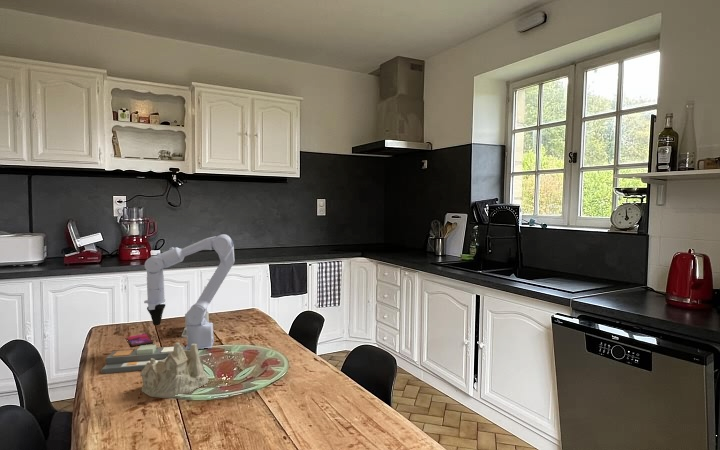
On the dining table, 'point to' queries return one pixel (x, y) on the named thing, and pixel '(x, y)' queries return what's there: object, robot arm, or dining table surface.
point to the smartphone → (139, 340)
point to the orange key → (123, 353)
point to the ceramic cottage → (174, 373)
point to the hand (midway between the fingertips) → (157, 324)
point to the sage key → (146, 349)
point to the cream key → (167, 349)
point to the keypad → (132, 361)
